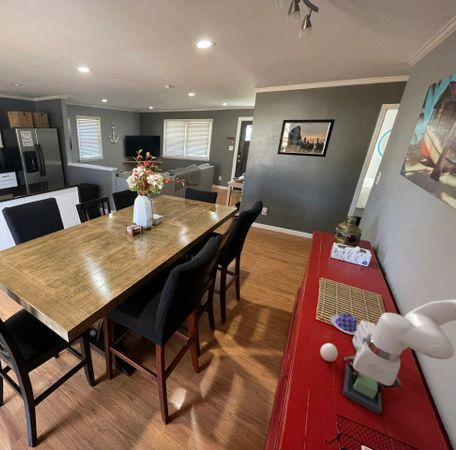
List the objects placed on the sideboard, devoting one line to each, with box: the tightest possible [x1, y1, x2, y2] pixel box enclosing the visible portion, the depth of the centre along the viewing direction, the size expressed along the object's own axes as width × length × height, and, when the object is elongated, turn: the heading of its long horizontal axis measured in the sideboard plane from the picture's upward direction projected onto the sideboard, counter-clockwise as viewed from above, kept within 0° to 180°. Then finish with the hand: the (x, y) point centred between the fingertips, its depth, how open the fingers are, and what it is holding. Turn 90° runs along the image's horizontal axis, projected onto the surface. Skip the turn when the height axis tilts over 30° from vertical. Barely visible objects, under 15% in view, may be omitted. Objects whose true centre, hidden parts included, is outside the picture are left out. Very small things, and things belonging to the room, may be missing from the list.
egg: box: [319, 342, 339, 362], centre depth 94 cm, size 5×5×8 cm
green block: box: [354, 373, 377, 399], centre depth 83 cm, size 5×6×4 cm
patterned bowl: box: [330, 312, 359, 336], centre depth 111 cm, size 12×12×5 cm
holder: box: [342, 362, 383, 415], centre depth 86 cm, size 10×18×2 cm, turn 141°
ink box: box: [351, 319, 377, 352], centre depth 98 cm, size 9×5×12 cm, turn 157°
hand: (363, 385), depth 83 cm, fingers closed on green block, 5 cm apart
